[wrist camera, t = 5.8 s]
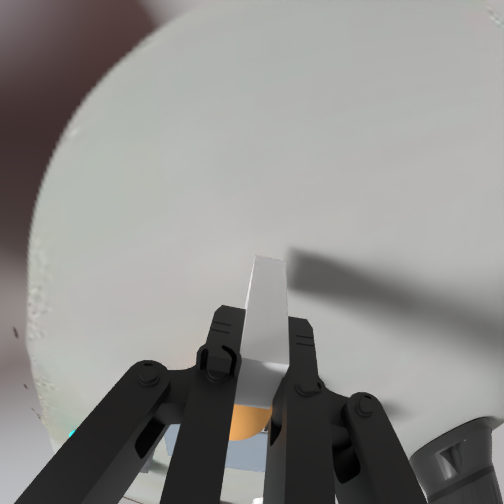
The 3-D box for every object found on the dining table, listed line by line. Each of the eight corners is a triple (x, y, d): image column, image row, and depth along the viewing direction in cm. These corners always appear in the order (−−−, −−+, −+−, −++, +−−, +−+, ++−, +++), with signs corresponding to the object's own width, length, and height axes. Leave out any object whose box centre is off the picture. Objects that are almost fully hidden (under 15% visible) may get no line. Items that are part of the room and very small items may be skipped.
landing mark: (291, 435, 25) (291, 436, 25) (264, 471, 31) (264, 472, 31) (160, 412, 25) (160, 413, 25) (168, 453, 31) (168, 454, 31)
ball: (263, 415, 21) (277, 361, 21) (265, 459, 16) (284, 401, 15) (198, 405, 21) (205, 349, 21) (186, 447, 16) (191, 386, 15)
